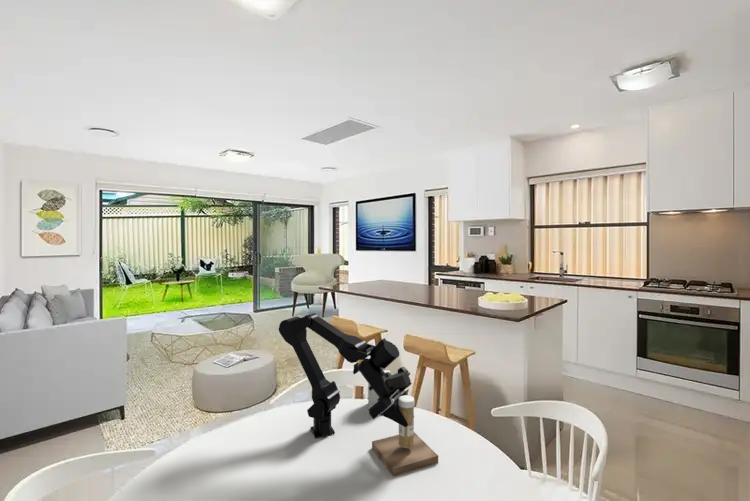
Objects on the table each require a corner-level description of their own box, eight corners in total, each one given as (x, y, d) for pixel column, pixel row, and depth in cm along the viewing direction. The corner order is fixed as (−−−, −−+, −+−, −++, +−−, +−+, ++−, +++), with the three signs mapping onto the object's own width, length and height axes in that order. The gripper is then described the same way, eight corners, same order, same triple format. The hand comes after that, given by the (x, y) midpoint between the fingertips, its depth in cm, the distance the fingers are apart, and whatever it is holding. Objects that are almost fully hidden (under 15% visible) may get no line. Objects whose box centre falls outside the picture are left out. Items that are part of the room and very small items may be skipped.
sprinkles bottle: (415, 448, 101) (415, 401, 100) (399, 449, 101) (399, 401, 100) (412, 439, 105) (413, 394, 105) (397, 439, 105) (397, 394, 105)
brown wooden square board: (372, 447, 107) (372, 441, 107) (413, 437, 113) (413, 430, 112) (393, 476, 94) (393, 468, 94) (438, 462, 100) (438, 455, 100)
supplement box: (387, 412, 129) (387, 377, 128) (367, 410, 130) (367, 376, 130) (391, 403, 136) (391, 370, 136) (371, 401, 138) (371, 368, 137)
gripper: (379, 371, 96) (417, 422, 91) (405, 352, 112) (439, 394, 108) (353, 394, 100) (389, 444, 95) (382, 372, 116) (414, 413, 112)
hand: (410, 422), depth 102 cm, fingers closed on sprinkles bottle, 4 cm apart
